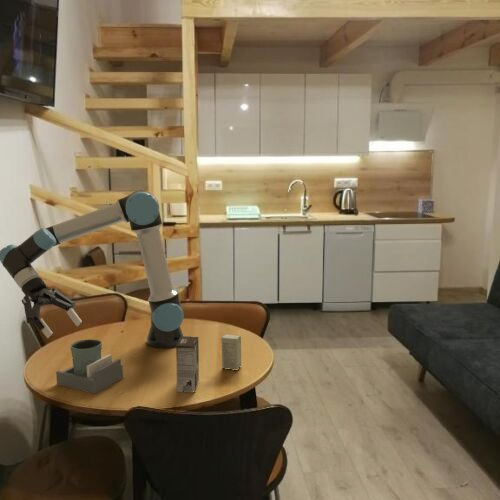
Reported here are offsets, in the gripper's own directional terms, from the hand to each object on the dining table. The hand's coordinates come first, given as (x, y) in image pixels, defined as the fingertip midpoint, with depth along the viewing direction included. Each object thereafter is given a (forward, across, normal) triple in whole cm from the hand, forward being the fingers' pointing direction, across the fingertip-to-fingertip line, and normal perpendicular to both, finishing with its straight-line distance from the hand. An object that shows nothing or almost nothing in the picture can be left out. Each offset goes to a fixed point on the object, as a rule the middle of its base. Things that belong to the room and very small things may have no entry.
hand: (65, 329), depth 167 cm
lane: (+19, 0, -5) cm, 20 cm away
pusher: (+21, 0, -1) cm, 21 cm away
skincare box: (+47, -30, +23) cm, 60 cm away
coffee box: (+42, -10, +18) cm, 47 cm away
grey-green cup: (+18, 0, -5) cm, 18 cm away
